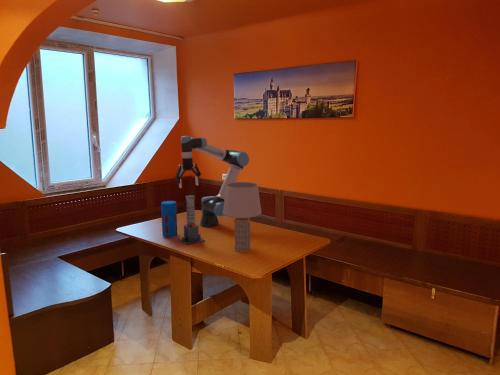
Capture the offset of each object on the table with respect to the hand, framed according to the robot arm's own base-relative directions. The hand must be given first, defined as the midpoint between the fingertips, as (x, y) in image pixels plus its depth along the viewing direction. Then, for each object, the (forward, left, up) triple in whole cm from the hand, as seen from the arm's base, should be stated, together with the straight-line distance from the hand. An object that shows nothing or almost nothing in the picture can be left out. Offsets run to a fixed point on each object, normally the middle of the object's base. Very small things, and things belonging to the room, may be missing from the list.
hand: (188, 186), depth 285 cm
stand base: (+6, +15, -36) cm, 39 cm away
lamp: (-14, +51, -36) cm, 64 cm away
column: (+6, +15, -27) cm, 31 cm away
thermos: (+14, -5, -36) cm, 39 cm away
